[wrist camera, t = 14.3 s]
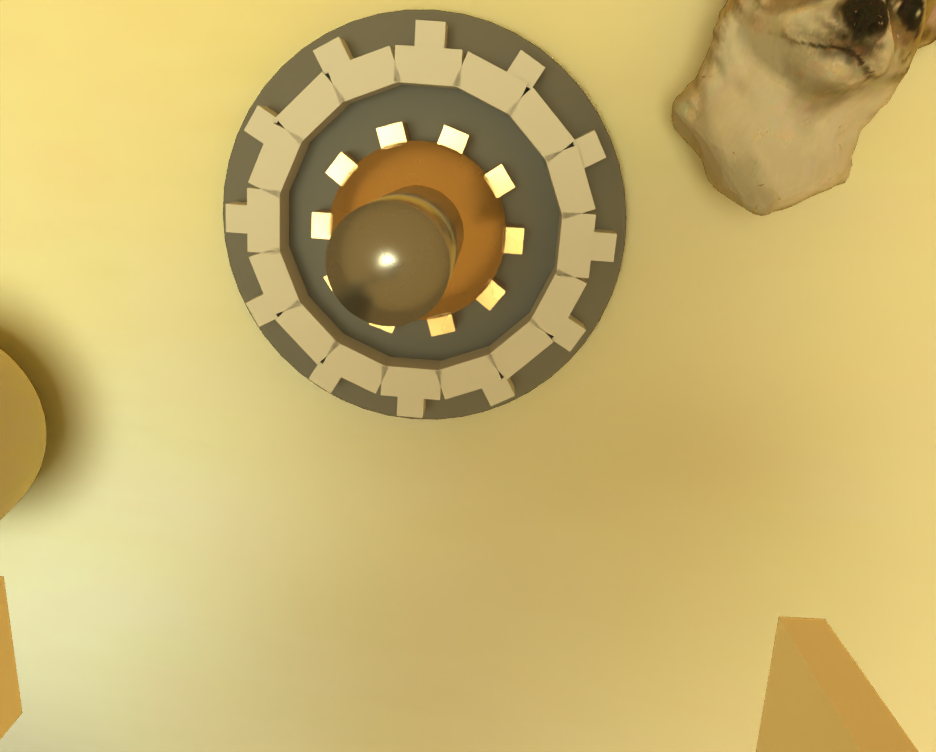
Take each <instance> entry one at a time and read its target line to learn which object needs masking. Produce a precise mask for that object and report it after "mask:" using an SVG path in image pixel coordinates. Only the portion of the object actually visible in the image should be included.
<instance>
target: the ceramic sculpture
mask: <svg viewBox="0 0 936 752" xmlns="http://www.w3.org/2000/svg"><path fill="white" fill-rule="evenodd" d="M935 40H936V0H728V1H727V3H726V5H725V6H724V7H723V9H722V10H721V11H720V13H719V22H718V23H717V25H716V26H715V28H714V31H713V42H712V44H711V46H710V48H709V50H708V53H707V56H706V58H705V60H704V62H703V64H702V66H701V68H700V70H699V73H698V75H697V77H696V79H695V80H694V81H692V82H691V83H690V84H689V85H688V86H687V87H686V88H685V90H684V91H683V92H682V93H681V94H680V95H679V96H678V97H677V98H676V99H675V101H674V103H673V106H672V122H673V126H674V128H675V129H676V130H677V132H678V133H679V134H680V135H681V136H682V137H683V138H684V139H685V140H686V141H687V142H688V143H689V145H690V146H691V147H692V148H693V149H694V150H695V151H696V152H697V154H698V155H699V156H700V158H701V159H702V161H703V165H704V168H705V172H706V175H707V177H708V179H709V181H710V183H711V184H712V185H713V187H714V188H716V189H717V190H718V191H719V192H721V193H722V194H724V195H726V196H727V197H729V198H730V199H731V200H733V201H734V202H736V203H737V204H738V205H740V206H741V207H744V208H745V209H746V210H748V211H750V212H752V213H753V214H756V215H760V216H763V215H767V214H770V213H772V212H774V211H778V210H783V209H786V208H789V207H791V206H793V205H795V204H797V203H799V202H801V201H803V200H805V199H807V198H809V197H811V196H814V195H816V194H819V193H821V192H824V191H826V190H829V189H831V188H832V187H834V186H836V185H839V184H842V183H845V182H846V180H847V178H848V176H849V172H850V168H851V166H852V159H851V156H852V154H853V152H854V150H855V147H856V144H857V141H858V137H859V134H860V131H861V130H862V128H863V127H865V126H866V125H867V124H868V123H869V122H870V121H871V119H872V118H873V117H874V116H875V114H876V113H877V112H878V111H879V109H880V108H882V107H883V106H884V105H885V104H887V103H888V101H889V100H890V98H891V97H892V95H893V93H894V91H895V90H896V88H897V86H898V84H899V83H900V81H901V80H902V79H903V77H904V76H905V74H906V73H907V72H908V69H909V67H910V64H911V61H912V58H913V56H914V54H915V52H916V50H917V49H918V48H921V47H923V46H926V45H928V44H931V43H932V42H934V41H935Z"/></svg>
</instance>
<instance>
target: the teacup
mask: <svg viewBox="0 0 936 752" xmlns="http://www.w3.org/2000/svg"><path fill="white" fill-rule="evenodd" d="M46 434H47V433H46V422H45V415H44V412H43V409H42V405H41V402H40V399H39V397H38V395H37V393H36V391H35V389H34V387H33V385H32V384H31V382H30V381H29V379H28V377H27V376H26V374H25V373H24V372H23V371H22V370H21V368H20V367H19V366H18V365H17V364H16V362H15V361H14V360H13V359H12V358H10V357H9V356H8V355H7V354H6V353H5V352H4V351H2V350H1V349H0V520H1V519H2V518H3V517H4V516H5V515H6V514H7V513H8V512H9V511H10V510H11V509H12V508H13V507H14V506H15V505H16V504H17V503H18V502H19V500H20V499H21V498H22V497H23V496H24V494H25V493H26V492H27V490H28V489H29V488H30V486H31V485H32V483H33V482H34V480H35V478H36V476H37V474H38V472H39V470H40V467H41V465H42V461H43V458H44V454H45V448H46Z"/></svg>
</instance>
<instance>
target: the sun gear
mask: <svg viewBox="0 0 936 752" xmlns="http://www.w3.org/2000/svg"><path fill="white" fill-rule="evenodd" d="M376 130H377V133H378V137H379V141H380V145H381V148H380V149H378V150H376V151H374V152H372V153H371V154H369V155H367V156H366V157H364V158H363V159H362V160H361V161H359V160H358V159H356V158H355V157H354V156H353V155H352V154H351V153H349V152H348V151H345V152H341V153H340V154H339V155H338V157H337V158H336V159H335V161H334V162H333V163H332V165H331V166H330V167H329V168H328V170H327V171H326V172H325V173H327V174H328V175H329V176H330V177H331V178H332V179H334V180H335V181H336V182H337V183H338V184H340V187H339V189H338V191H337V193H336V195H335V198H334V201H333V204H332V208H331V210H326V209H319V210H316V211H313V212H312V238H319V239H330V240H329V243H328V246H327V251H326V272H327V275H326V276H325V277H323V278H324V279H325V281H326V282H327V284H328V285H329V287H330V288H331V290H332V291H333V293H334V294H335V296H336V297H337V299H338V300H339V301H340V303H341V304H342V305H343V306H344V307H345V308H346V309H347V310H348V311H349V312H351V313H352V314H353V315H355V316H356V317H358V318H360V319H361V320H364V321H366V322H369V324H370V325H372V326H375V327H377V328H380V329H382V330H385V331H387V332H390V333H393V331H394V329H395V328H396V326H400V325H405V324H409V323H411V322H414V321H416V320H427V321H428V325H429V329H430V333H431V336H437V335H441V334H445V333H450V332H454V331H456V327H457V320H456V316H455V312H457V311H459V310H461V309H463V308H464V307H466V306H467V305H469V304H470V303H472V302H473V301H474V300H477V301H479V302H480V303H481V304H482V305H483V306H485V307H486V308H487V309H488V310H489V311H490V310H491V309H492V307H493V306H494V305H495V304H496V303H497V302H498V301H499V299H500V298H501V297H502V296H503V295H504V294H505V293H506V285H504V284H503V283H502V282H501V281H500V280H499V279H497V278H496V277H495V275H496V273H497V270H498V268H499V266H500V264H501V260H502V257H503V253H511V254H522V250H523V239H524V225H519V224H506V221H505V213H504V209H503V204H502V201H501V198H500V196H502V195H503V194H505V193H507V192H508V191H510V190H511V189H513V188H514V187H515V185H514V183H513V181H512V180H511V178H510V176H509V175H508V173H507V171H506V169H505V168H504V166H503V164H502V163H501V164H499V165H498V166H496V167H495V168H493V169H491V170H490V171H488V172H487V173H486V172H485V171H484V170H483V169H482V168H481V167H480V166H479V165H478V164H477V163H476V162H475V161H474V160H472V159H471V158H470V157H469V156H467V155H466V154H464V151H465V149H466V146H467V144H468V141H469V138H470V136H471V135H468V134H466V133H463V132H461V131H459V130H456V129H454V128H452V127H449V126H447V125H444V127H443V130H442V133H441V135H440V138H439V140H438V143H437V142H430V141H411V140H410V136H409V132H408V128H407V124H406V122H399V123H395V124H391V125H387V126H383V127H380V128H376Z"/></svg>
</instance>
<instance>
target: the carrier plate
mask: <svg viewBox="0 0 936 752" xmlns="http://www.w3.org/2000/svg"><path fill="white" fill-rule="evenodd" d="M399 122H406V124H407V128H408V132H409V136H410V140H411V141H430V142H437V143H438V140H439V138H440V135H441V133H442V130H443V127H444V125H447V126H449V127H452V128H454V129H456V130H459V131H461V132H463V133H466V134H468V135H471V136H470V138H469V141H468V144H467V146H466V149H465V151H464V154H466V155H467V156H469V157H470V158H471V159H472V160H474V161H475V162H476V163H477V164H478V165H479V166H480V167H481V168H482V169H483V170H484V171H485V172H486V173H487V172H488V171H490V170H491V169H493V168H495V167H496V166H498V165H499V164H501V163H502V164H503V166H504V168H505V169H506V171H507V173H508V175H509V176H510V178H511V180H512V181H513V183H514V185H515V187H514V188H513V189H511V190H510V191H508V192H507V193H505V194H503V195H502V196H500V198H501V201H502V204H503V209H504V213H505V221H506V224H519V225H524V239H523V250H522V254H511V253H503V257H502V260H501V264H500V266H499V268H498V270H497V273H496V275H495V277H496V278H497V279H499V280H500V281H501V282H502V283H503V284H504V285H506V293H505V294H504V295H503V296H502V297H501V298H500V299H499V301H498V302H497V303H496V304H495V305H494V306H493V307H492V309H491V310H490V311H489V310H488V309H487V308H486V307H485V306H483V305H482V304H481V303H480V302H479V301H477V300H474V301H473V302H472V303H470V304H469V305H467V306H466V307H464V308H463V309H461V310H459V311H457V312H455V316H456V320H457V327H456V331H454V332H450V333H445V334H441V335H437V336H431V333H430V329H429V325H428V321H427V320H416V321H414V322H411V323H409V324H405V325H400V326H396V328H395V329H394V331H393V333H390V332H387V331H385V330H382V329H380V328H377V327H375V326H372V325H370V324H369V322H366V321H364V320H361V319H360V318H358V317H356V316H355V315H353V314H352V313H351V312H349V311H348V310H347V309H346V308H345V307H344V306H343V305H342V304H341V303H340V301H339V300H338V299H337V297H336V296H335V294H334V293H333V291H332V290H331V288H330V287H329V285H328V284H327V282H326V281H325V279H324V278H323V277H325V276H326V275H327V272H326V251H327V246H328V243H329V240H330V239H319V238H312V212H313V211H316V210H319V209H326V210H331V208H332V204H333V201H334V198H335V195H336V193H337V191H338V189H339V187H340V184H338V183H337V182H336V181H335V180H334V179H332V178H331V177H330V176H329V175H328V174H327V173H325V172H326V171H327V170H328V168H329V167H330V166H331V165H332V163H333V162H334V161H335V159H336V158H337V157H338V155H339V154H340V153H341V152H345V151H348V152H349V153H351V154H352V155H353V156H354V157H355V158H356V159H358V160H359V161H361V160H362V159H363V158H364V157H366V156H367V155H369V154H371V153H372V152H374V151H376V150H378V149H380V148H381V145H380V141H379V137H378V133H377V130H376V128H380V127H383V126H387V125H391V124H395V123H399ZM223 221H224V233H225V242H226V247H227V252H228V257H229V261H230V266H231V269H232V272H233V275H234V278H235V281H236V284H237V287H238V289H239V292H240V294H241V296H242V298H243V300H244V302H245V304H246V306H247V308H248V310H249V312H250V314H251V316H252V317H253V319H254V321H255V322H256V324H257V325H258V327H259V328H260V330H261V331H262V333H263V334H264V336H265V337H266V338H267V339H268V341H269V342H270V343H271V344H272V345H273V347H274V348H275V349H276V350H277V351H278V353H279V354H280V355H281V356H282V357H283V358H284V359H285V360H286V361H287V362H289V363H290V364H291V365H292V366H293V367H294V368H295V369H296V370H297V371H298V372H299V373H301V374H302V375H303V376H305V377H306V378H307V379H309V380H310V381H312V382H313V383H314V384H316V385H317V386H318V387H320V388H322V389H323V390H325V391H327V392H329V393H331V394H332V395H334V396H336V397H338V398H340V399H341V400H344V401H346V402H349V403H351V404H354V405H356V406H358V407H361V408H363V409H367V410H370V411H374V412H378V413H381V414H385V415H389V416H396V417H403V418H410V419H446V418H455V417H463V416H467V415H471V414H476V413H480V412H484V411H487V410H490V409H493V408H495V407H498V406H501V405H504V404H506V403H509V402H511V401H513V400H515V399H516V398H518V397H520V396H522V395H524V394H526V393H528V392H530V391H531V390H533V389H534V388H536V387H537V386H539V385H540V384H541V383H543V382H544V381H546V380H547V379H549V378H550V377H551V376H552V375H554V374H555V373H556V372H557V371H558V370H559V369H560V368H561V367H562V366H564V365H565V364H566V363H567V362H568V361H569V360H570V359H571V358H572V357H573V355H574V354H575V353H576V352H577V351H578V350H579V348H580V347H581V346H582V345H583V344H584V343H585V341H586V340H587V338H588V337H589V335H590V334H591V332H592V331H593V329H594V328H595V326H596V325H597V323H598V322H599V320H600V318H601V316H602V314H603V312H604V310H605V308H606V306H607V304H608V302H609V300H610V297H611V295H612V292H613V289H614V286H615V283H616V280H617V277H618V274H619V271H620V266H621V261H622V256H623V250H624V245H625V230H626V207H625V193H624V186H623V182H622V177H621V172H620V167H619V163H618V160H617V157H616V154H615V151H614V148H613V145H612V142H611V139H610V137H609V135H608V133H607V131H606V129H605V127H604V125H603V123H602V121H601V119H600V117H599V115H598V113H597V111H596V110H595V108H594V107H593V105H592V104H591V102H590V101H589V99H588V98H587V96H586V95H585V93H584V92H583V90H582V89H581V88H580V87H579V86H578V84H577V83H576V82H575V81H574V80H573V79H572V78H571V77H570V76H569V74H568V73H567V72H566V71H565V70H564V69H563V68H562V67H561V66H560V65H559V64H558V63H556V62H555V61H554V60H553V59H552V58H550V57H549V56H548V55H547V54H546V53H544V52H543V51H542V50H541V49H540V48H538V47H536V46H535V45H533V44H532V43H530V42H528V41H527V40H525V39H524V38H522V37H521V36H519V35H517V34H516V33H513V32H511V31H509V30H507V29H505V28H502V27H500V26H498V25H496V24H494V23H491V22H489V21H485V20H482V19H478V18H475V17H471V16H468V15H465V14H460V13H453V12H446V11H439V10H402V11H395V12H388V13H382V14H376V15H373V16H370V17H366V18H363V19H360V20H356V21H353V22H350V23H348V24H346V25H344V26H341V27H339V28H337V29H335V30H333V31H331V32H328V33H326V34H325V35H323V36H321V37H320V38H318V39H317V40H315V41H314V42H312V43H311V44H309V45H308V46H306V47H304V48H303V49H302V50H301V51H299V52H298V53H297V54H296V55H295V56H294V57H292V58H291V59H290V60H289V61H288V62H287V63H286V64H284V65H283V66H282V67H281V68H280V69H279V71H278V72H277V73H276V74H275V75H274V76H273V77H272V79H271V80H270V81H269V82H268V83H267V84H266V85H265V87H264V88H263V89H262V91H261V92H260V94H259V95H258V97H257V99H256V100H255V102H254V103H253V105H252V106H251V108H250V109H249V111H248V113H247V115H246V117H245V119H244V122H243V124H242V126H241V128H240V130H239V132H238V134H237V137H236V140H235V143H234V146H233V150H232V153H231V156H230V159H229V163H228V169H227V174H226V180H225V186H224V202H223Z"/></svg>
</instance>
